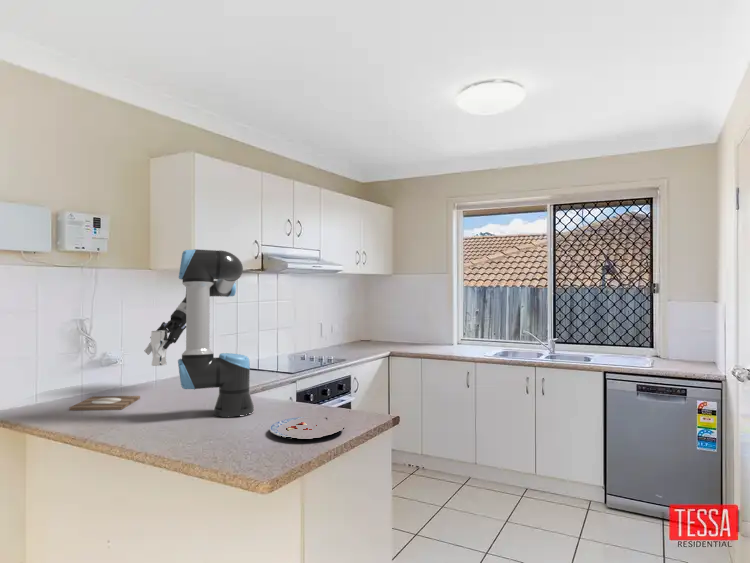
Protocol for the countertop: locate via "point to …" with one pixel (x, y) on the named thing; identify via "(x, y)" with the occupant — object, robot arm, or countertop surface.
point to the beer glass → (156, 342)
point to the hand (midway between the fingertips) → (152, 353)
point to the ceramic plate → (274, 428)
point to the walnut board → (105, 403)
